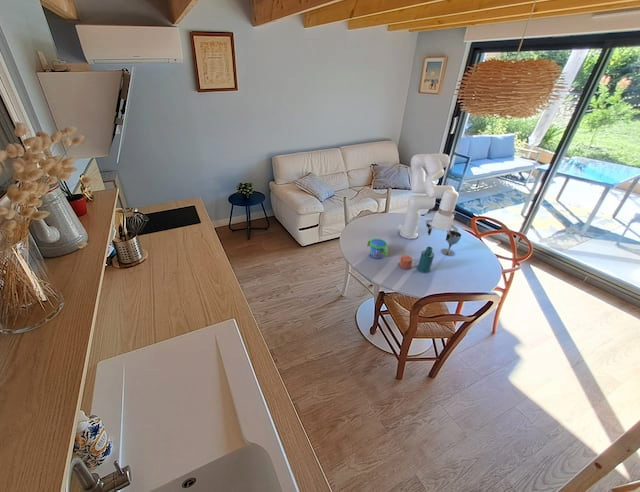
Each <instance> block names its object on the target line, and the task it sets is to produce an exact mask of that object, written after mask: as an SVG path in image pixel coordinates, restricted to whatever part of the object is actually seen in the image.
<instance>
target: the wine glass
mask: <svg viewBox="0 0 640 492" xmlns="http://www.w3.org/2000/svg"><path fill="white" fill-rule="evenodd" d="M447 235H448V232H447V231H446V237H447ZM446 237H445V238H446ZM461 237H462V234H461V233H460V232H459V231H457V232H455V233H454V234H451V235H450V238H449V239H447V241H446V242H447V244H448V249H447V248H446V249H445V248H443V249H442V250H441V252H442V253H443V254H444V255H446V256H451V257H452V256H454V252H453V251H452V250H450V249H451V247H452V246H454V245H456V244H458V243H459V241H460V240H461Z"/></svg>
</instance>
